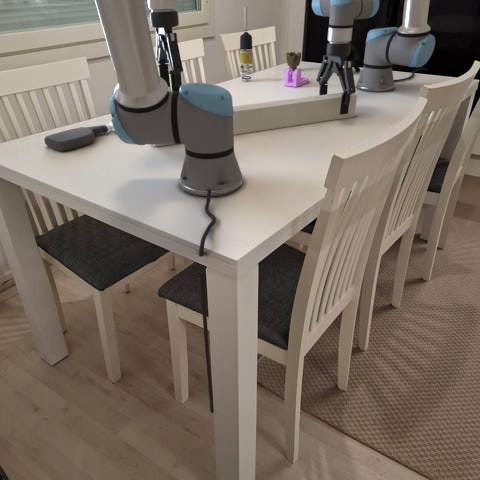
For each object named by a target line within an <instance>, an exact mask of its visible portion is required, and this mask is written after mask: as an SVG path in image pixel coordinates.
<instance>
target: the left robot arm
mask: <svg viewBox="0 0 480 480" xmlns="http://www.w3.org/2000/svg"><path fill="white" fill-rule="evenodd" d="M94 2H95V6H96V9H97V13H98V16H99V17H98V18H99V20H100V23H101V28H102V30H103V35H104V38H105V41H106V45H107V48H108V52H109V55H110V59H111V62H112V66H113V69H114V73H115V77H116V80H117V85H116V86H115V88H114V91H113V94H111V97H110V100H109V114H110V116H111V122H112V124H113V127H114V129H115V131H114V132H115V133H116V135H117V137H118V138H119V140H121V141H122V142H123V143H125V144H128V145H136V146H137V145H138V146H145V145H153V144H170V145H184V154H185V155H184V158H183V164H182V168H181V171H180V177H179V178H180V179H179V183H180V184H179V185H180V188H181V189H182V191H184V192H186V193H187V194H190V195H194V196H199V197H206V202H205V205H204V212H205V214H206V215H207V216H208V217H209V218H211V221H210V222H209V224H208V225H207V227H206V228H205V231H204V232H203V234H202V236H201V239H200V243H199V248H198V249H199V250H198V251H199V252H198V257H201V258H202V257H204V251H205V242H206V239H207V237H208V234H209V233H210V231H211V230H212V228H213V226H215V224H216V222H217V218H216V216H215V214H213V213H211V211H210V209H209V208H210V203H211V197H221V196H224V195H229V194H232V193H234V192H235V191H237V190H239V189H240V188H241V187H242V185H243V174H242V171H241V168H240V165H239V163H238V160H237V157H236V154H235V138H234V137H235V135H234V134H233V115H234V110H233V107H234V106H233V105H234V104H233V96H232V94H231V92H230V91H229V90H227V89H226V88H224V87H222V86H220V85H216V84H212V83H205V82H186V83H182V82H183V81H182V73H183V72H184V68H183V63H182V59H181V54H180V53H181V52H180V48H179V42H178V35H177V32H173V28H177V27H179V24H180V21H179V12H178V11H177V10H176V9H178V1H177V0H147V5H148V10H151V11H149V18H148V14H147V9H146V8H147V7H146V3H145V0H94ZM149 21H150V25H149ZM150 26H151V27H152V28H154V31H155V49H154V44H153V40H152V34H151V29H150ZM154 50H155V51H154ZM169 68H170V70H169ZM170 87H171V91H170V90H169V88H170ZM199 281H200V295H201V297H200V298H201V314H202V324H203V325H202V326H203V336H204V337H203V339H204V351H205V360H206V361H205V362H206V374H207V386H208V397H209V398H208V399H209V411H210V413H211V414H214V412H215V409H214V397H213V395H214V394H213V382H212V380H213V379H212V370H211V369H212V368H211V356H210V355H211V354H210V344H209V342H210V341H209V333H208V332H209V330H208V329H209V328H208V317H207V316H208V315H207V300H206V280H205V274H204V273H199Z"/></svg>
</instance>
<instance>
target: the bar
mask: <svg viewBox="0 0 480 480" xmlns="http://www.w3.org/2000/svg"><path fill="white" fill-rule="evenodd" d="M342 93H344V92H343V91H342V92H335V93H334V92H333V93H327V94H326V95H311V96H304V97H296V98H295V97H294V98H289V99H280V100H274V101H265V102H257V103H251V104H242V105H234V106H233V110H234V115H233V134H234V136H236V135H241V134H249V133H254V132H261V131H269V130H275V129H282V128H288V127H295V126H300V125H308V124H313V123H320V122H328V121H334V120H341V119H348V118H355V116H356V109H357V99H358V94H356V93H353V94H351V96H350V104H349V109H348V114H342V115H341V114H340V107H341V98H342ZM152 145H153V147H155V148H156V147H162V146H169V145H171V144H152Z"/></svg>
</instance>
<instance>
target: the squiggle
mask: <svg viewBox="0 0 480 480" xmlns="http://www.w3.org/2000/svg"><path fill="white" fill-rule="evenodd" d="M353 57H354V59H353ZM346 60H347V61H352V62H353V68H352V69H354V70H355V72H356V73H359V72H360V73H361V68H360V66H359V65H358V64H357V63H358V62H359V60H360V55H359V53H358V49H357V47H356V46H355V45H351V49H350V55H349V56H347V58H346Z"/></svg>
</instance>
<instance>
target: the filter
mask: <svg viewBox="0 0 480 480" xmlns="http://www.w3.org/2000/svg"><path fill="white" fill-rule="evenodd" d="M248 9H249V7H248V6H243V14H244V15H243V16H244V22H243V23H244V24H243V25H244V28H245V29H248ZM239 50H240V51H239V56H240V59H239V61H240V65H241V66H240V68H241V69H244V66H245V67H248V69H251V68H253V65H252V64H253V35H251V34H250V33H249V32H248V31H244V32H243V33H242V34H241V35H240V36H239ZM248 65H249V66H248ZM239 74H240V75H244V76H241V79H243V80H244V81H245V82H248V81H249V80H252V77H251V76H250V75H252V74H253V70H240V71H239Z"/></svg>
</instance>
